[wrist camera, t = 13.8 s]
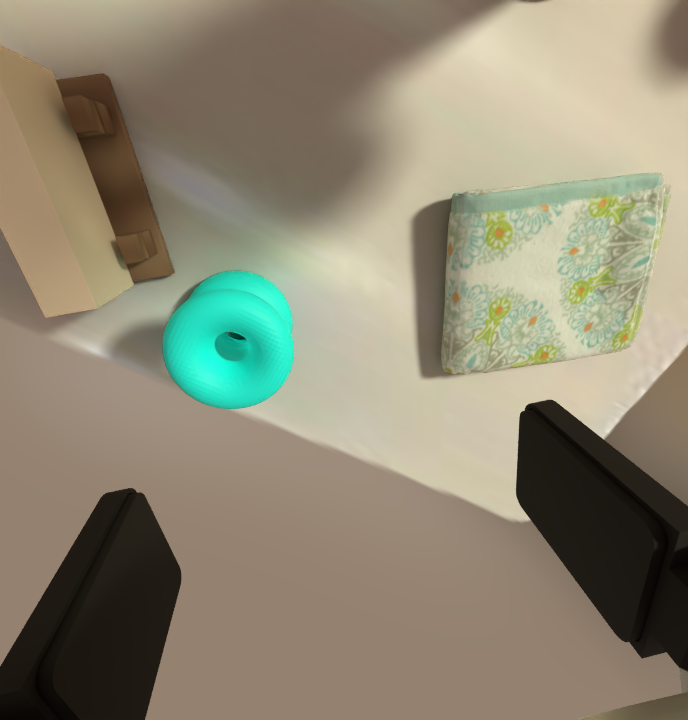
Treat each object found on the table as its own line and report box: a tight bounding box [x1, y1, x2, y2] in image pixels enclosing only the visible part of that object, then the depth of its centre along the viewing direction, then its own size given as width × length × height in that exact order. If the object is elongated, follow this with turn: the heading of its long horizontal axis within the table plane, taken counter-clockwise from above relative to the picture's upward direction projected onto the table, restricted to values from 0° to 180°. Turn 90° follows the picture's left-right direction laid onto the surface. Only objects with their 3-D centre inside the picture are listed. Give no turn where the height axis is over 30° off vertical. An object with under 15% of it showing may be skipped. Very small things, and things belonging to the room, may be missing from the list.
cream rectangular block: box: [0, 45, 134, 318], centre depth 26 cm, size 15×4×7 cm, turn 9°
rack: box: [56, 74, 175, 282], centre depth 30 cm, size 15×9×5 cm, turn 9°
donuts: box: [162, 271, 294, 409], centre depth 34 cm, size 10×10×10 cm
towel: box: [441, 173, 671, 374], centre depth 39 cm, size 18×21×5 cm
